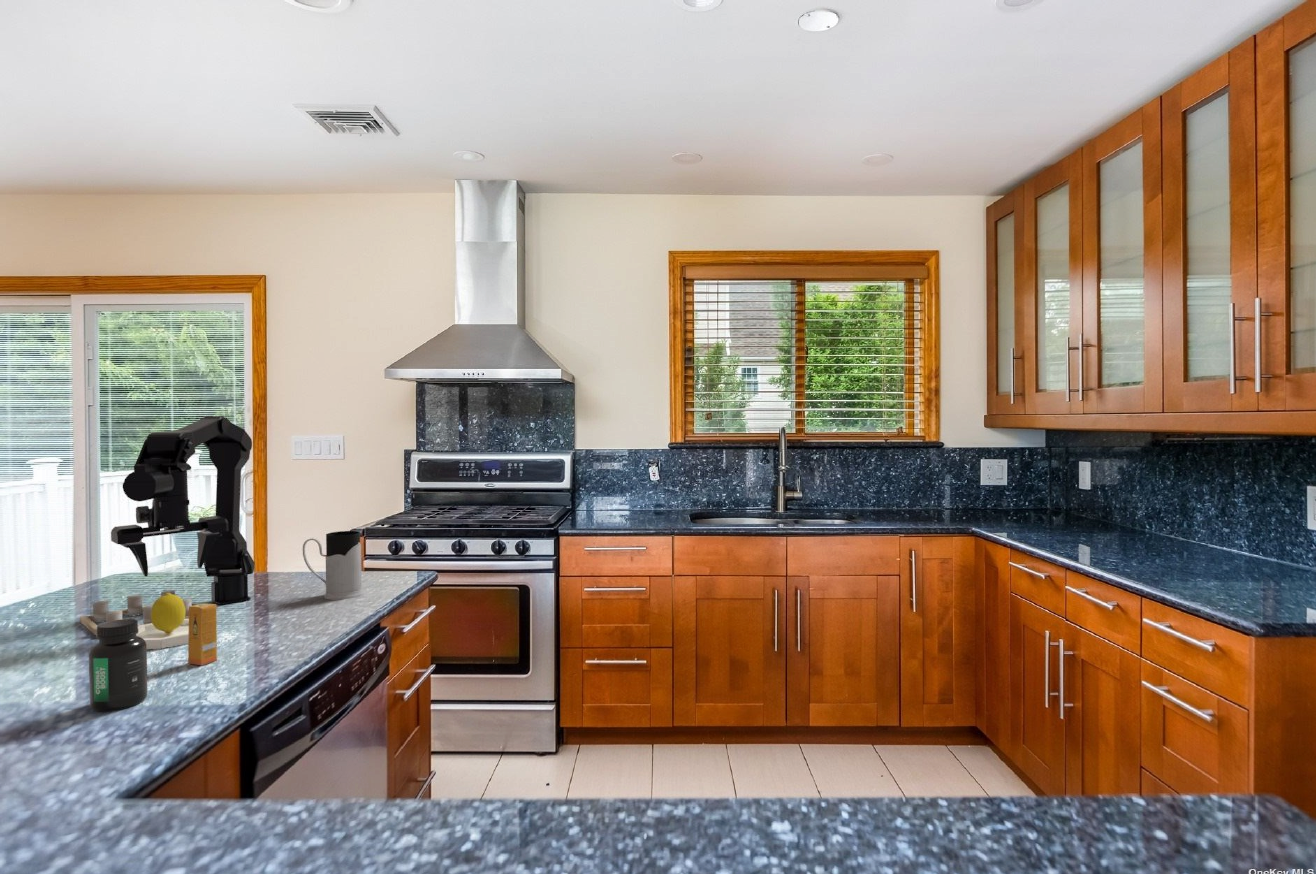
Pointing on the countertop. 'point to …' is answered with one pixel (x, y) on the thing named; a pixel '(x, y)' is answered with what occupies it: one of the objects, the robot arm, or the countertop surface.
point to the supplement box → (202, 634)
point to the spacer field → (124, 611)
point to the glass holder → (341, 564)
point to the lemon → (168, 613)
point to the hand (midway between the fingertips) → (173, 571)
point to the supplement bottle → (117, 666)
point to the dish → (164, 636)
